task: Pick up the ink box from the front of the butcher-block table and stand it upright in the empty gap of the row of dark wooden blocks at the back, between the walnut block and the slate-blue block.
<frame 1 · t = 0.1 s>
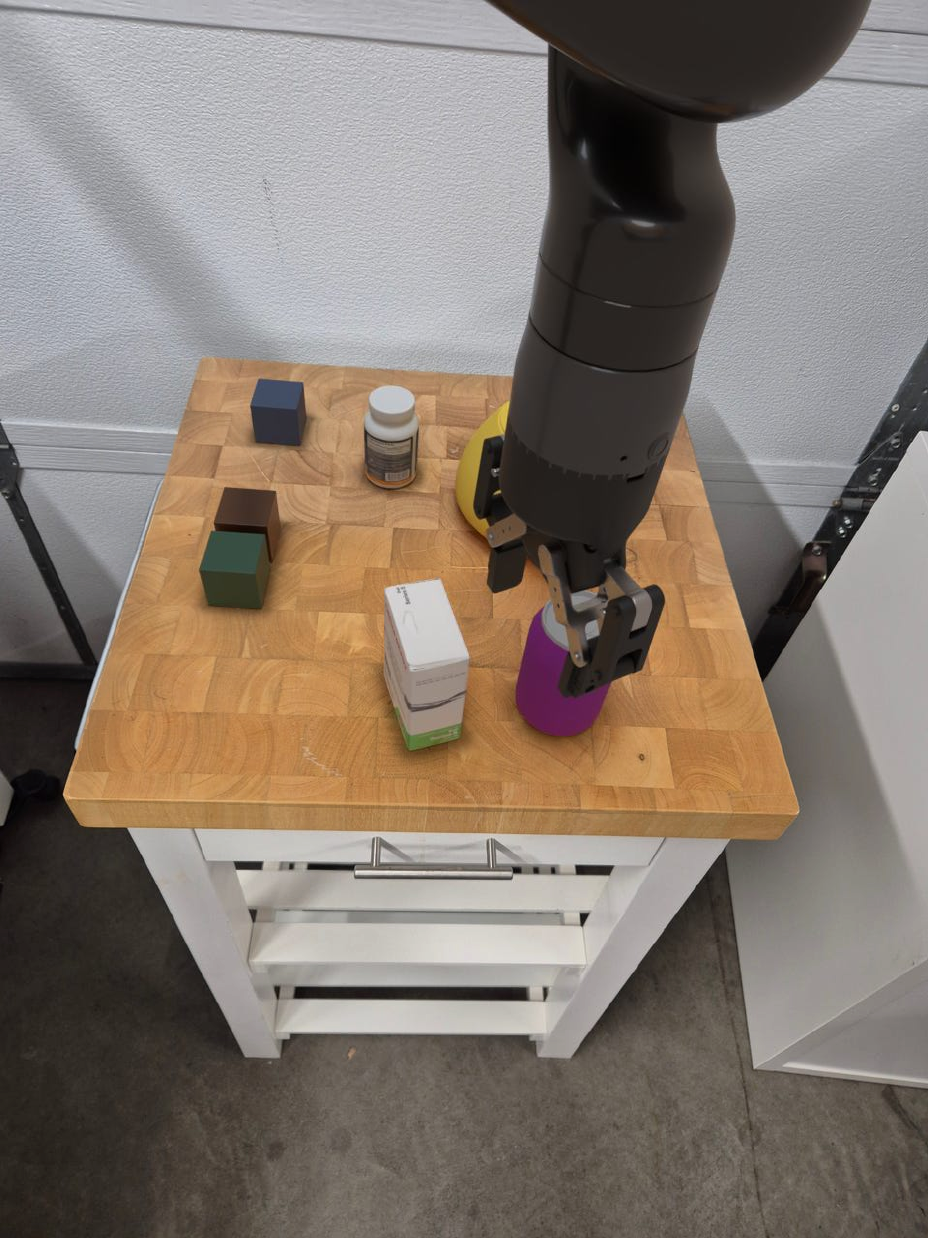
hand: (537, 635, 49), 22 cm above the table, tool pointing down, fingers open, 8 cm apart
beverage can: (555, 705, 73), on the table
ink box: (420, 706, 71), on the table
pill bottle: (390, 475, 90), on the table
slate block: (281, 430, 93), on the table
teapot: (535, 517, 88), on the table
walnut block: (251, 542, 82), on the table
green block: (239, 587, 78), on the table
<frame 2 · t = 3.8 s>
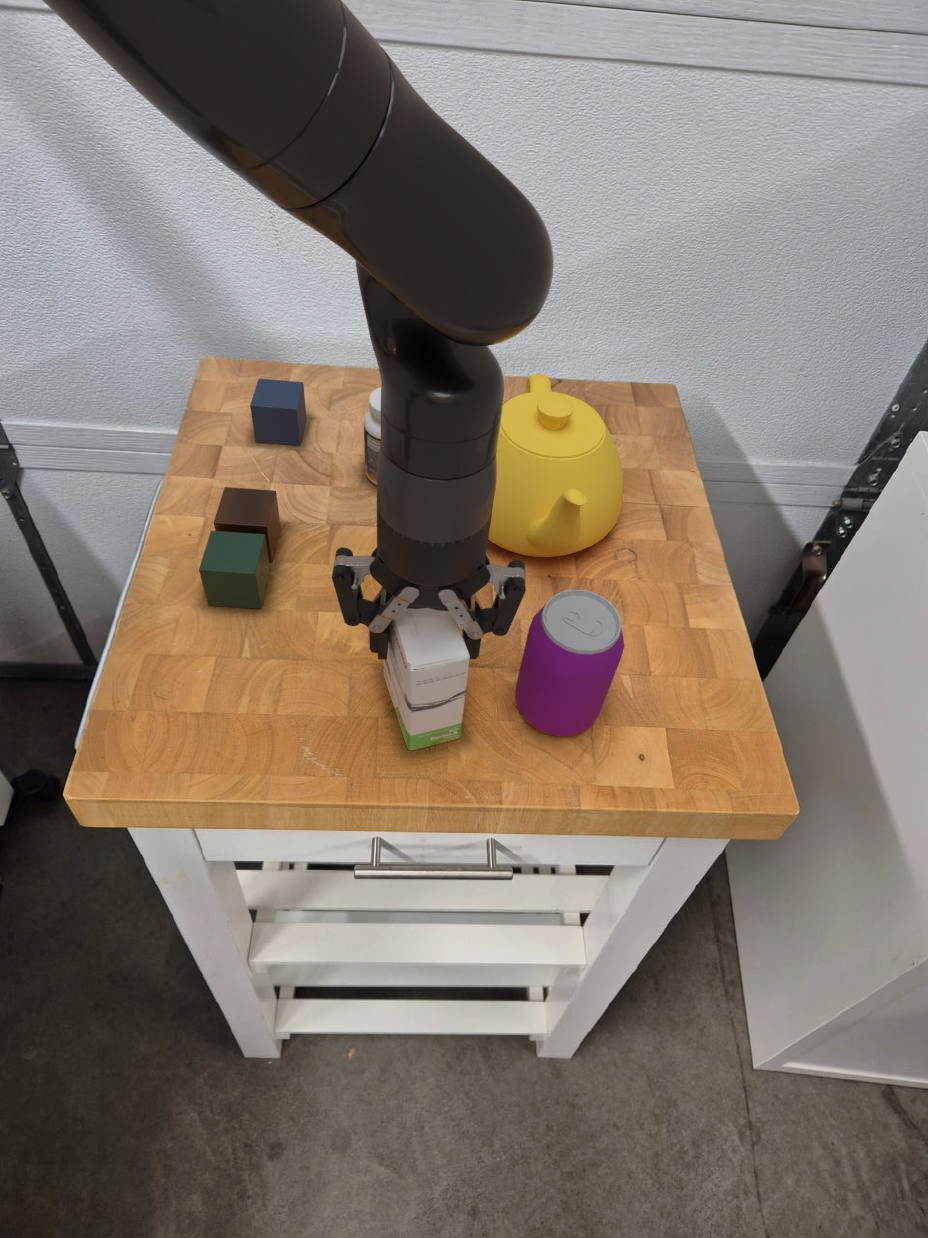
hand: (424, 653, 65), 8 cm above the table, tool pointing down, fingers closed on ink box, 6 cm apart
ink box: (420, 706, 71), on the table, touching gripper
everything else where it was.
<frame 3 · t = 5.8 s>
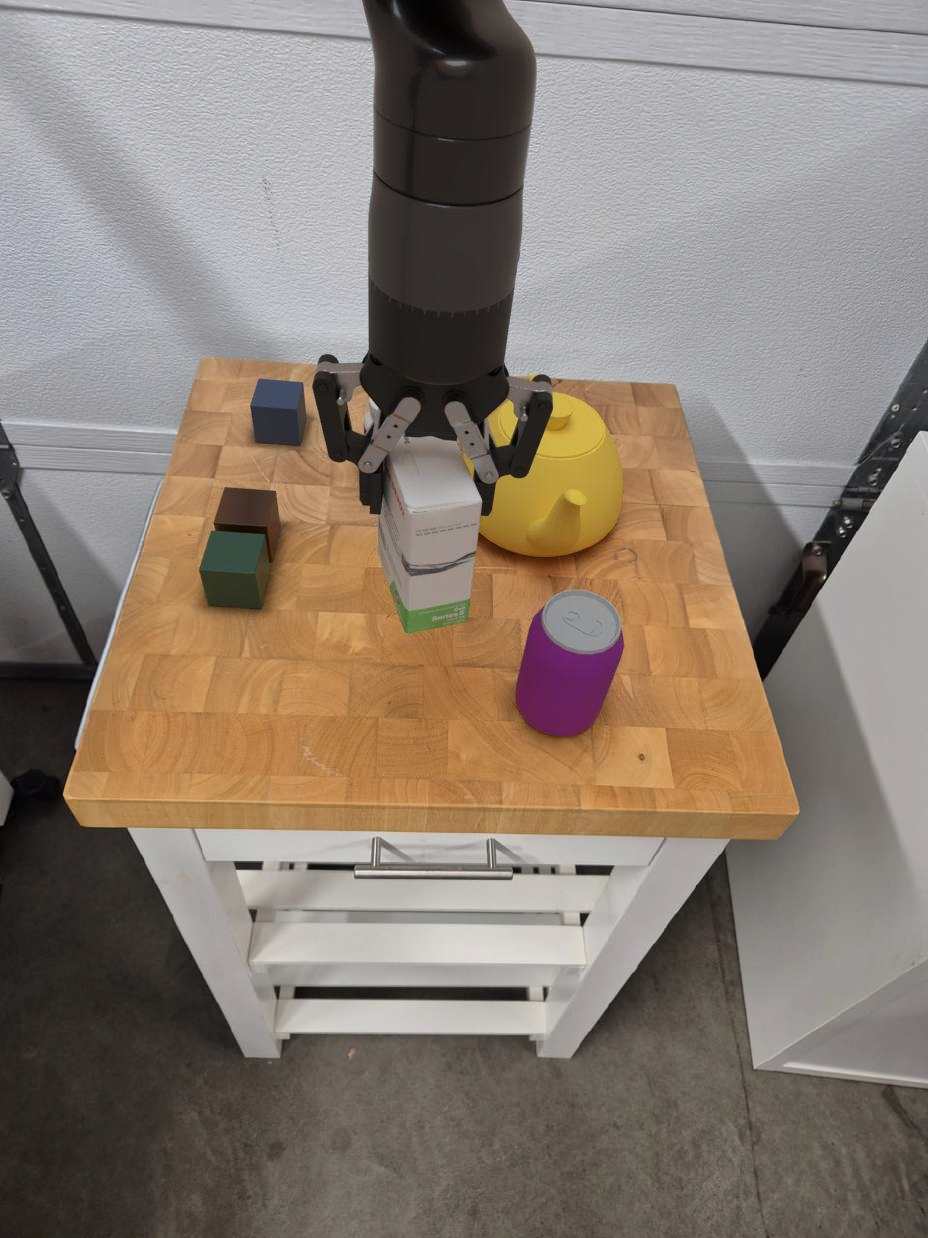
hand: (426, 509, 54), 23 cm above the table, tool pointing down, fingers closed on ink box, 6 cm apart
ink box: (420, 587, 60), point 15 cm above the table, touching gripper
everything else where it was.
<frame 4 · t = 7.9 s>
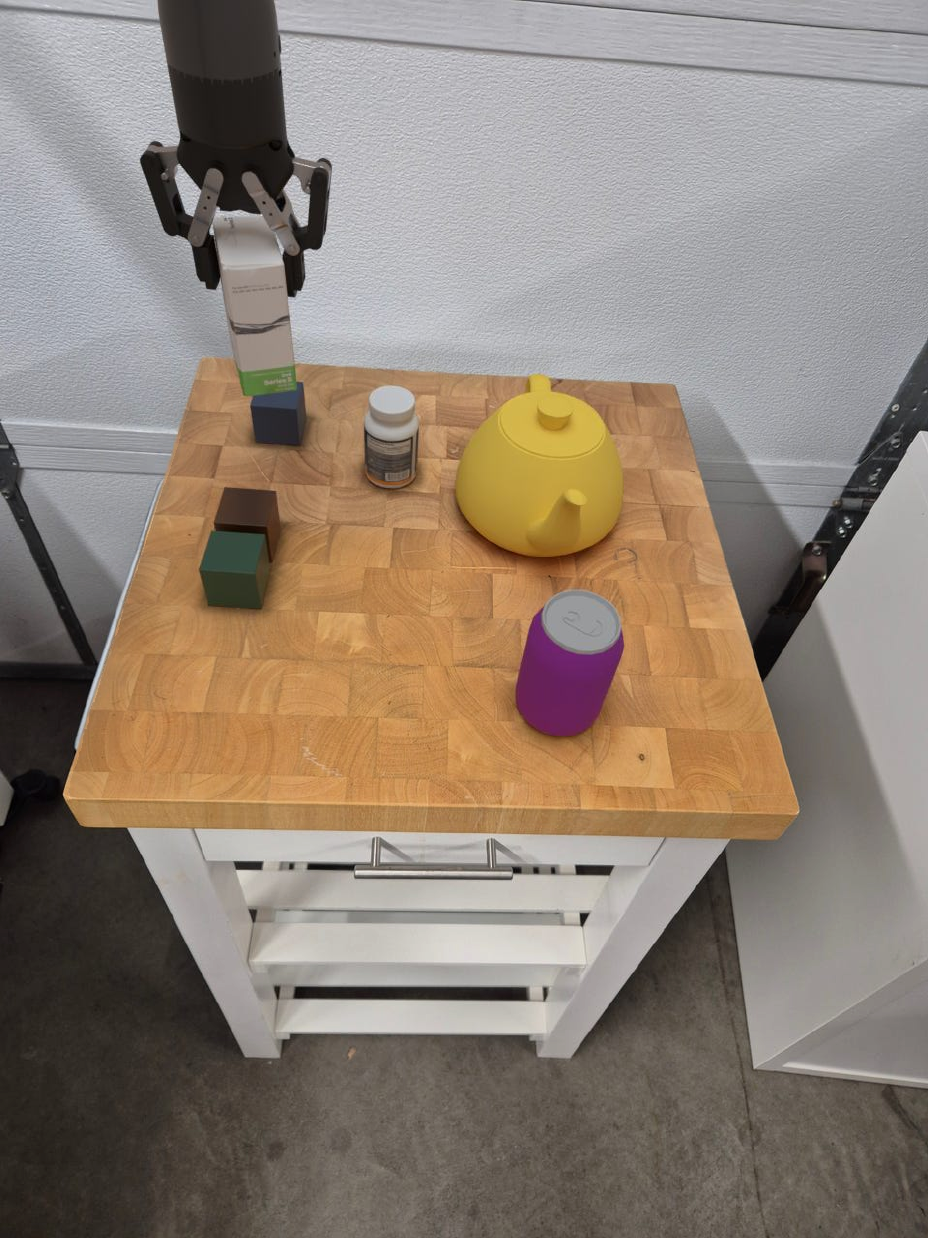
hand: (253, 287, 68), 24 cm above the table, tool pointing down, fingers closed on ink box, 6 cm apart
ink box: (263, 369, 74), point 16 cm above the table, touching gripper
everything else where it was.
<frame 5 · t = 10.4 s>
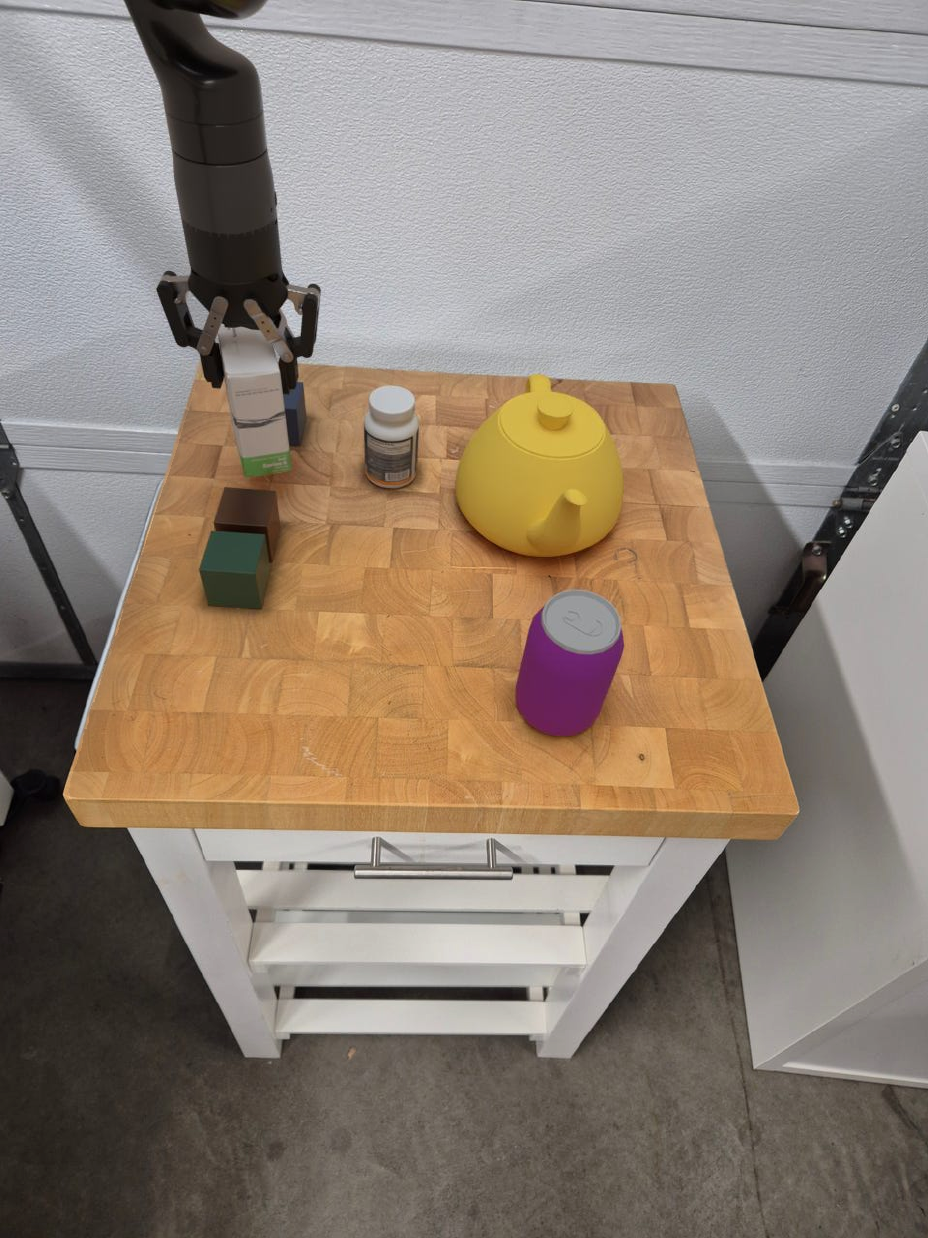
hand: (253, 386, 78), 12 cm above the table, tool pointing down, fingers closed on ink box, 6 cm apart
ink box: (262, 450, 84), point 5 cm above the table, touching gripper
everything else where it was.
when the fingers open (8 cm above the table, at t = 12.1 s): ink box stays where it is, on the table.
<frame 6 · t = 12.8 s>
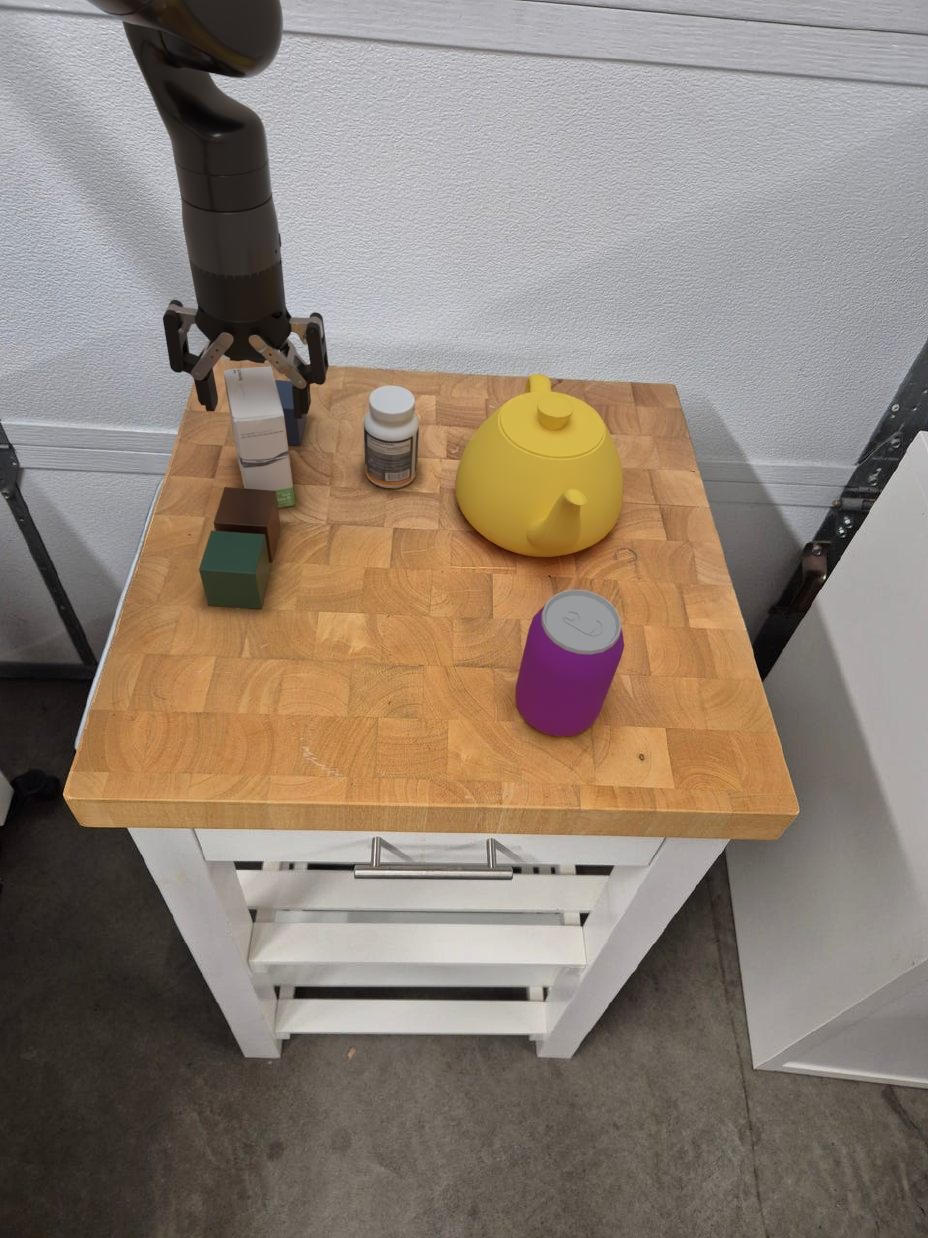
hand: (256, 410, 80), 9 cm above the table, tool pointing down, fingers open, 8 cm apart
ink box: (266, 484, 87), on the table
everything else where it was.
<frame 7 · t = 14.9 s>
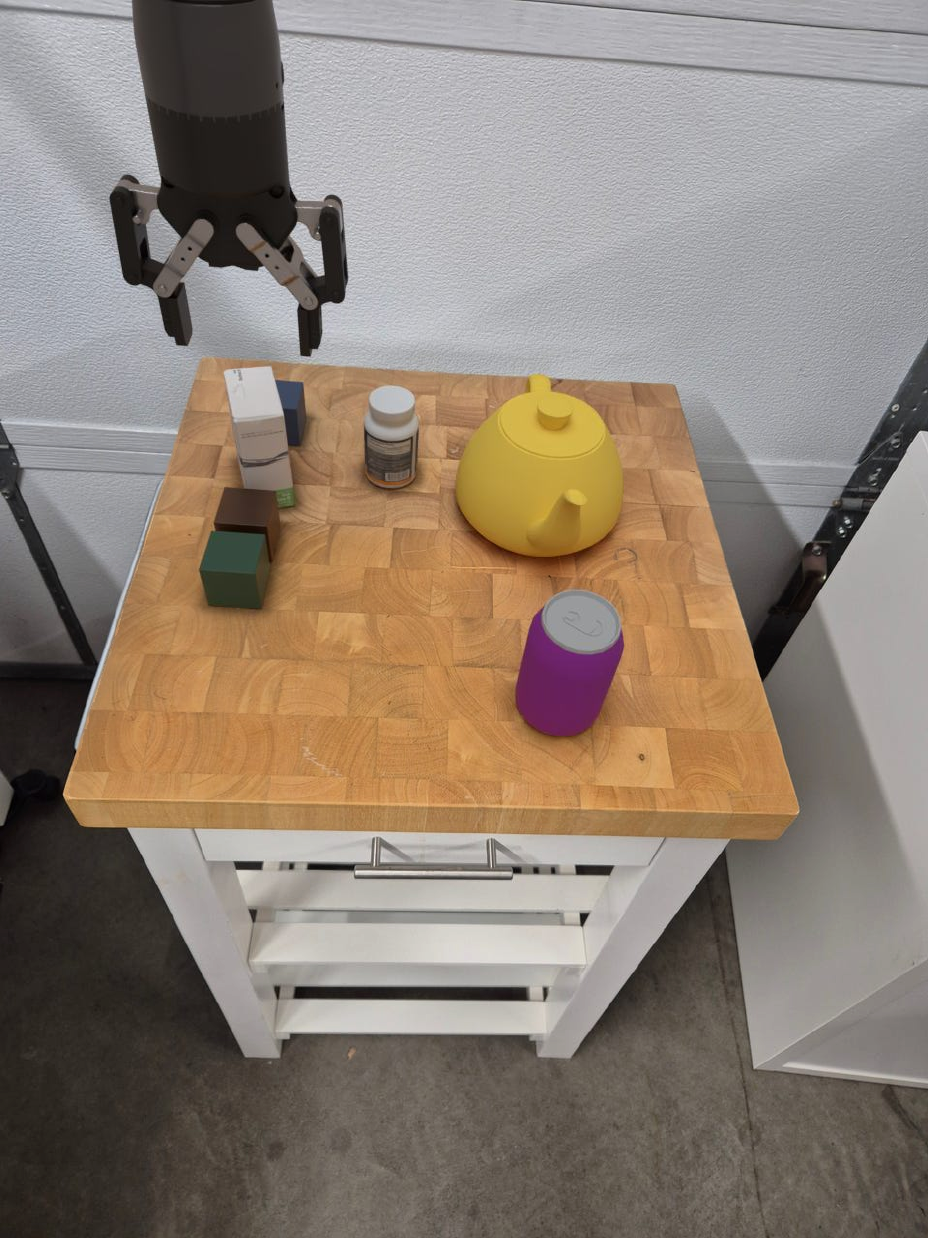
hand: (246, 345, 58), 26 cm above the table, tool pointing down, fingers open, 8 cm apart
nothing on the table moved.
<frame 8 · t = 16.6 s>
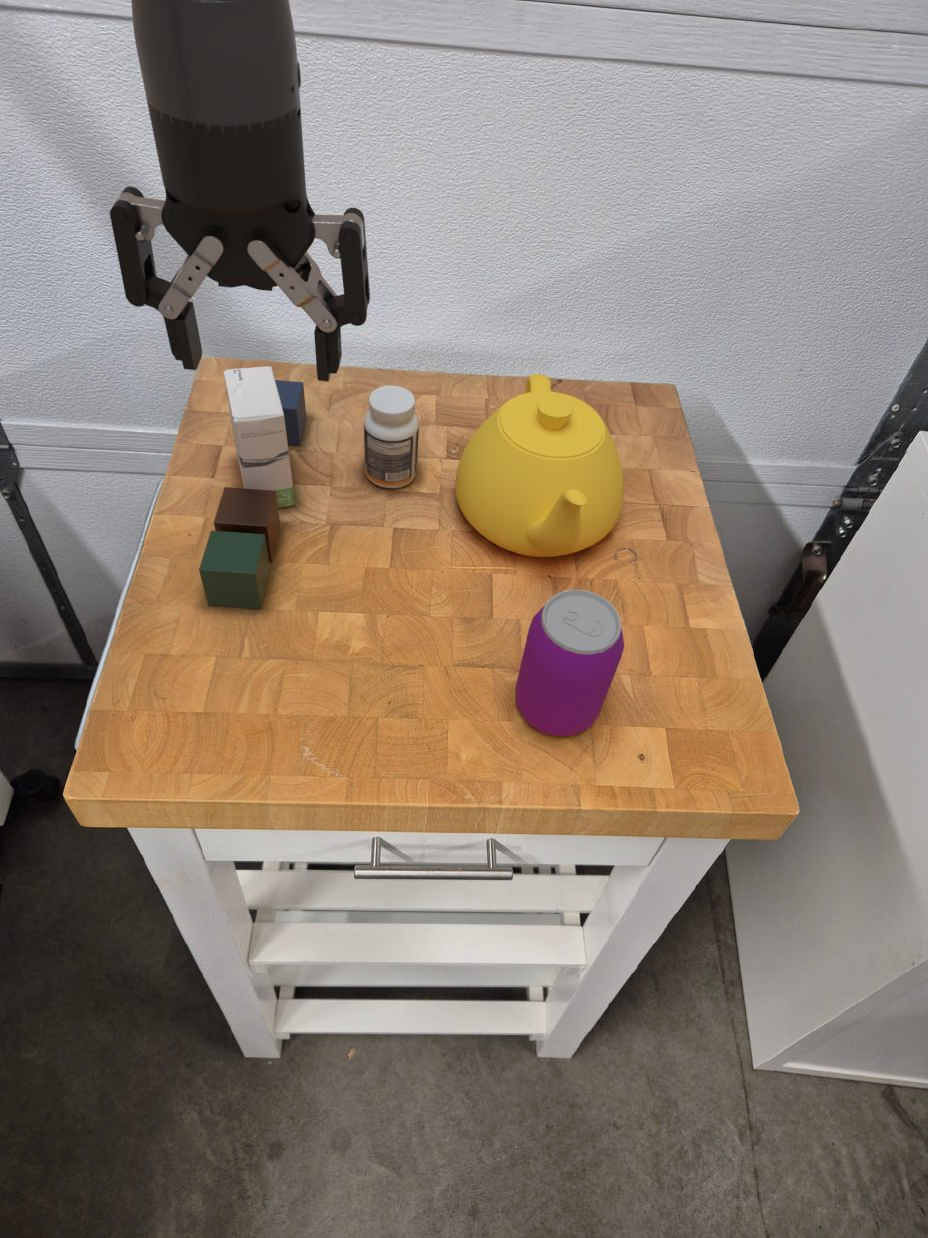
hand: (260, 368, 53), 28 cm above the table, tool pointing down, fingers open, 8 cm apart
nothing on the table moved.
at the end: ink box 0.1 cm from the target spot on the table beside the slate block, on the table; ink box tilted 0°; walnut block moved 0.0 cm from its start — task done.
